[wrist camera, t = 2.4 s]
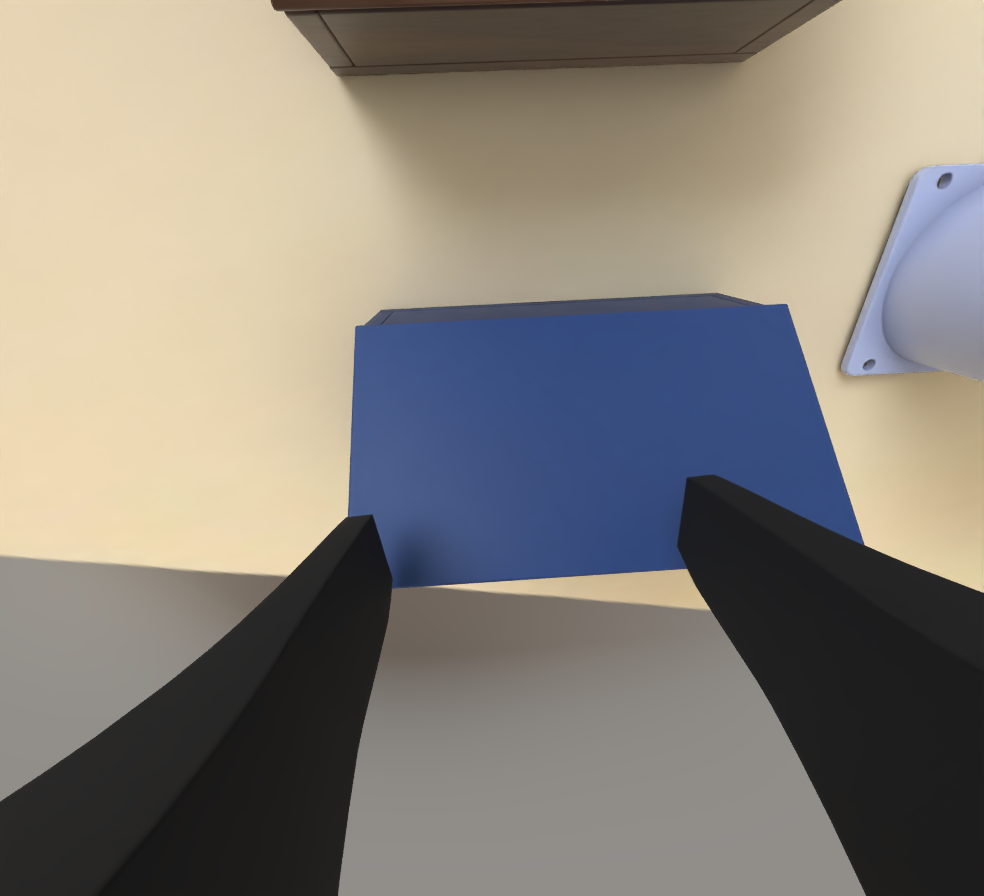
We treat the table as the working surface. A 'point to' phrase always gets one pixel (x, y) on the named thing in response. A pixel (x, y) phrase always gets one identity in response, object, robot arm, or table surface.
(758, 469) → the blue case lid
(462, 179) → the table surface
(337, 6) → the pen box lid
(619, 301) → the blue case
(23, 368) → the table surface
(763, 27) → the pen box
